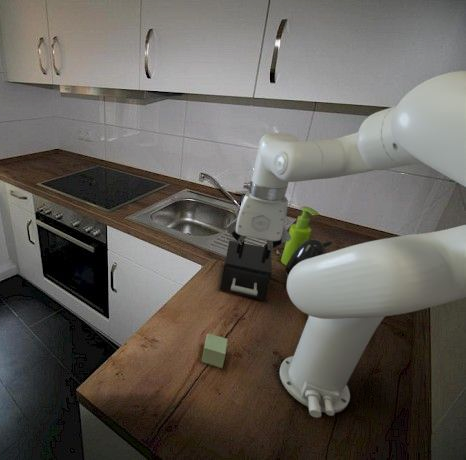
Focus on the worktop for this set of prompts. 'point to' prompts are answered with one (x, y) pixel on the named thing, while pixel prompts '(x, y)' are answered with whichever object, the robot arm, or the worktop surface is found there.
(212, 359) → the block
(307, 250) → the black rounded piece
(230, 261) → the black drawer box
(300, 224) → the soap dispenser
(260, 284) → the black drawer with handle
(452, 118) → the robot arm
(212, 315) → the worktop surface
